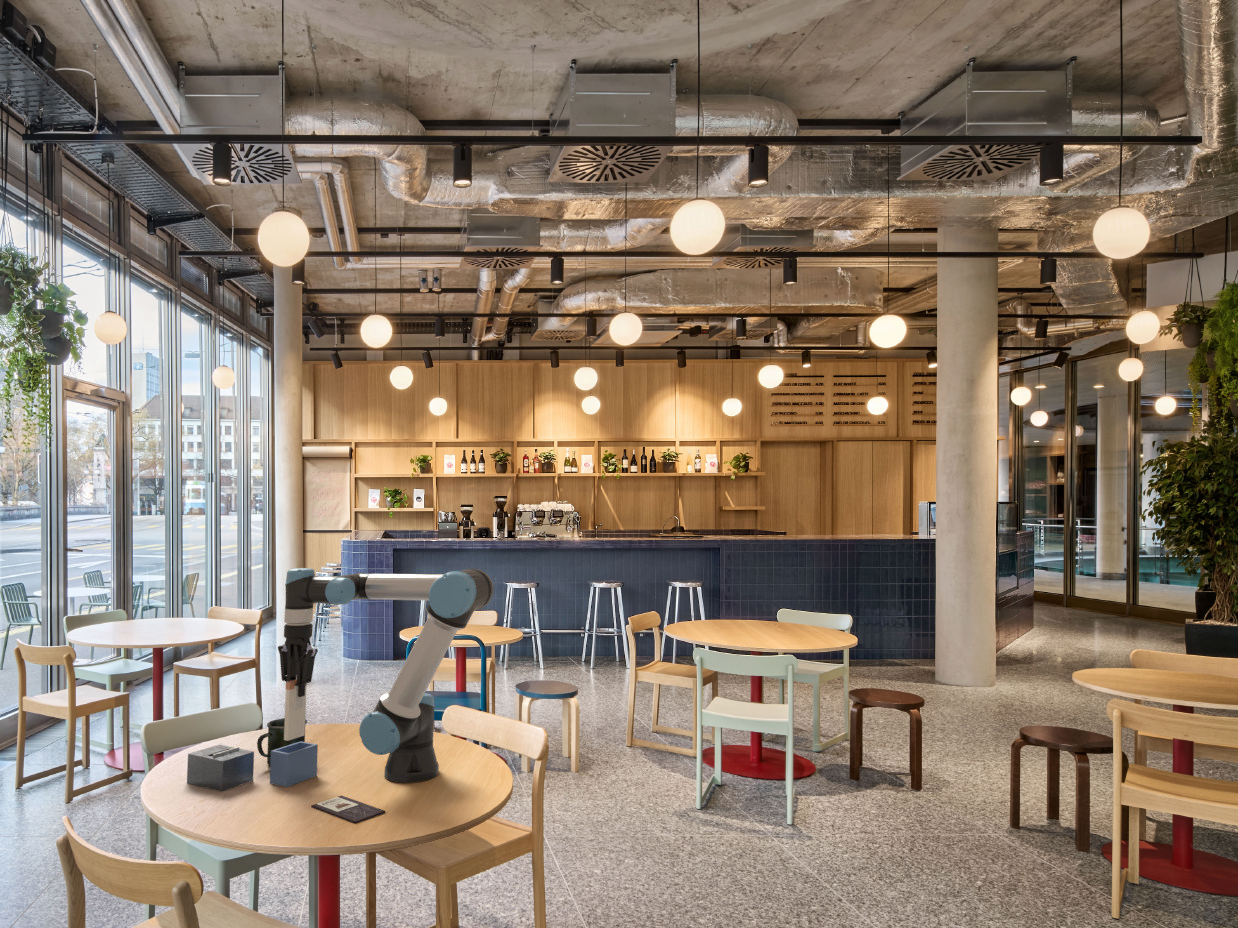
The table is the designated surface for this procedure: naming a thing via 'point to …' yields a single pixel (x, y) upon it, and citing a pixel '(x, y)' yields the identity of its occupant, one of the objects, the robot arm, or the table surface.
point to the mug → (276, 738)
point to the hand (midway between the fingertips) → (295, 707)
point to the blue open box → (293, 763)
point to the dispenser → (220, 767)
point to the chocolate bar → (348, 809)
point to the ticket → (293, 714)
